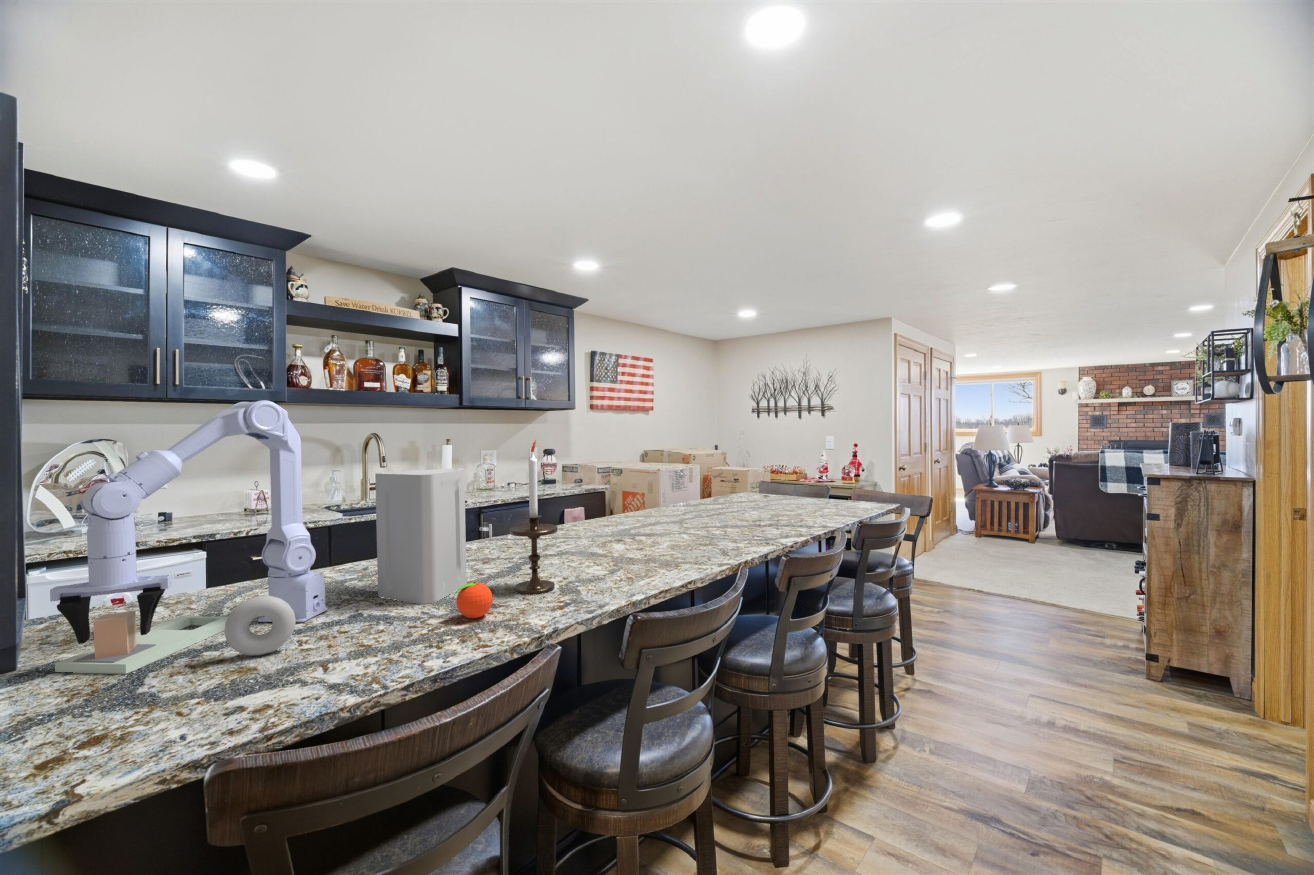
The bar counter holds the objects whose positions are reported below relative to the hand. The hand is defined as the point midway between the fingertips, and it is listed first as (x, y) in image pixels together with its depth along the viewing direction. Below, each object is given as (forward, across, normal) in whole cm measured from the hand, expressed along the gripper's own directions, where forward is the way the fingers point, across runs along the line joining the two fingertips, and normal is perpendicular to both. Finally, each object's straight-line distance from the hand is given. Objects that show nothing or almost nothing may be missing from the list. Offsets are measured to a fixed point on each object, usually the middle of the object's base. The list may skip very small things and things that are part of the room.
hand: (115, 637), depth 93 cm
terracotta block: (+2, 0, 0) cm, 3 cm away
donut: (+4, -21, +8) cm, 23 cm away
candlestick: (+4, -72, -8) cm, 72 cm away
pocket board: (+4, -4, -6) cm, 8 cm away
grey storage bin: (+4, -49, -16) cm, 51 cm away
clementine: (+4, -56, +6) cm, 56 cm away
